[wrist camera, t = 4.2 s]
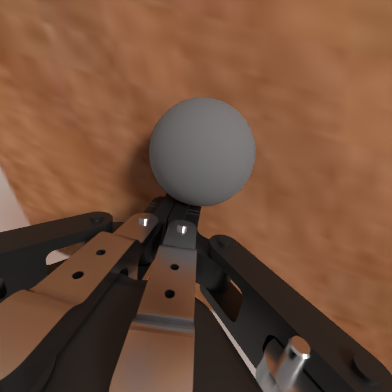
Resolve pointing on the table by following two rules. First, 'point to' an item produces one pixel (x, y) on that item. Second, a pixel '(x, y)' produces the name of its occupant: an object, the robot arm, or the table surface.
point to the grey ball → (202, 151)
